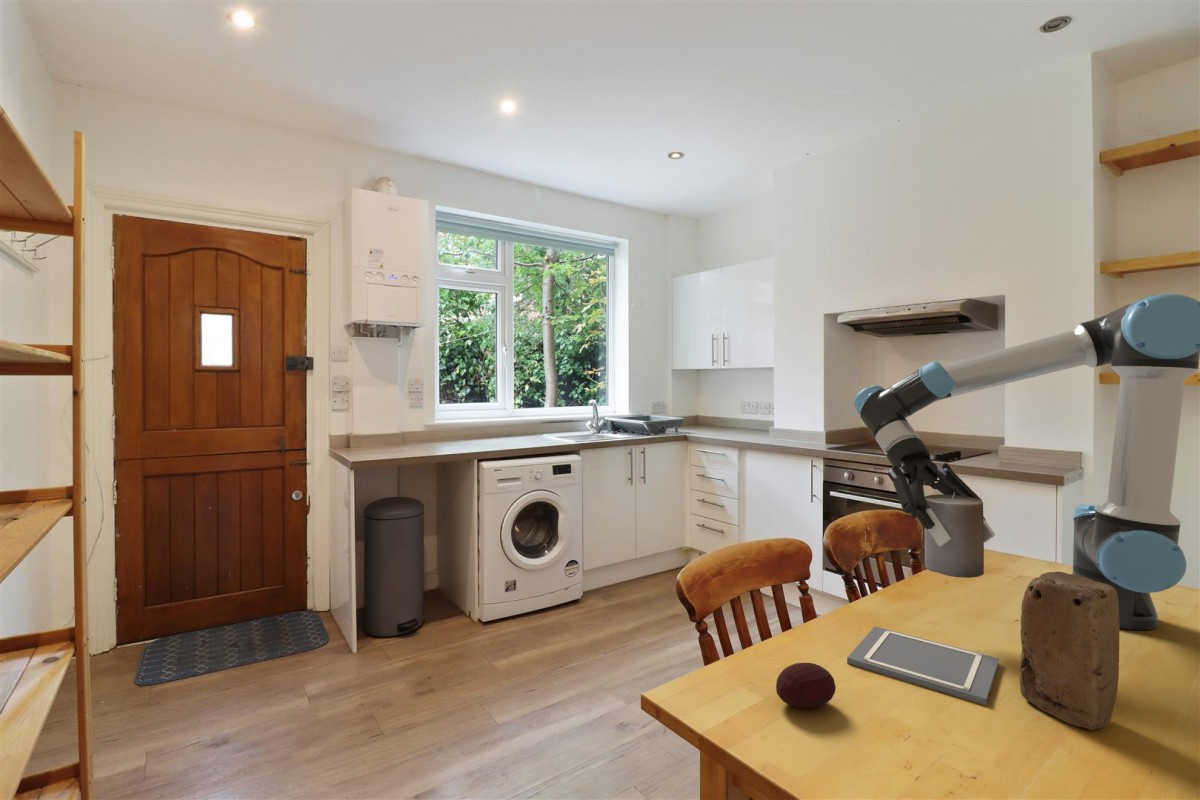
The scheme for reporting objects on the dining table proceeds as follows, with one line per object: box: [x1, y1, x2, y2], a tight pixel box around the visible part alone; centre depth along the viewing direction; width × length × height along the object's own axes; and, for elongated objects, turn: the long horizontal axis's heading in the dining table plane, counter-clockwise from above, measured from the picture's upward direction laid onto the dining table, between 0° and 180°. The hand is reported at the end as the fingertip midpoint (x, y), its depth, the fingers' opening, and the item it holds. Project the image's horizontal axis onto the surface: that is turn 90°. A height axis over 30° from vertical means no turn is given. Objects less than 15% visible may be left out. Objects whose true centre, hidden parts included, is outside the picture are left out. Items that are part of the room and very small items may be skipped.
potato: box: [775, 662, 837, 709], centre depth 86 cm, size 8×9×6 cm
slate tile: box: [846, 625, 1000, 706], centre depth 99 cm, size 20×17×1 cm
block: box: [1019, 571, 1121, 731], centre depth 84 cm, size 11×8×20 cm
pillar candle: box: [924, 492, 985, 579], centre depth 110 cm, size 10×10×15 cm
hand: (967, 540), depth 107 cm, fingers closed on pillar candle, 9 cm apart
